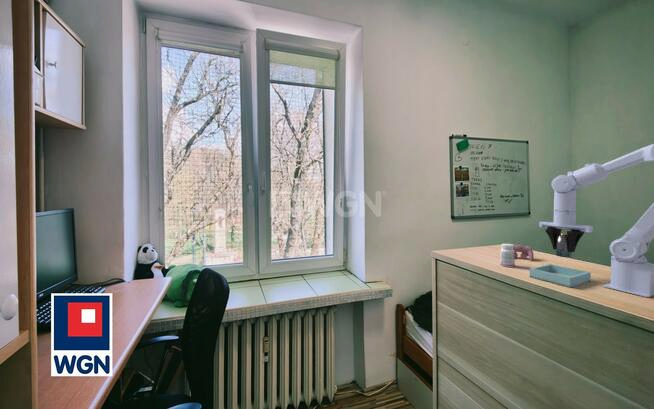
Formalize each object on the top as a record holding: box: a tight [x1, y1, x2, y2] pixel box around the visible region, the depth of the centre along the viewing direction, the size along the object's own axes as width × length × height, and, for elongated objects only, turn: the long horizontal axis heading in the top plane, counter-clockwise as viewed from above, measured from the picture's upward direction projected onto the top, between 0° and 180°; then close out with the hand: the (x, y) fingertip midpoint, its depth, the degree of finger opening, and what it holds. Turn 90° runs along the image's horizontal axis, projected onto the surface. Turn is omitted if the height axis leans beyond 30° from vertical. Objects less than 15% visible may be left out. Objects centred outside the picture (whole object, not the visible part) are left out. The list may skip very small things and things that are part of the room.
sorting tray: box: [529, 263, 592, 289], centre depth 93 cm, size 12×12×3 cm
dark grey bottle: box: [555, 232, 572, 258], centre depth 95 cm, size 4×4×8 cm
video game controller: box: [513, 244, 535, 262], centre depth 119 cm, size 10×5×7 cm, turn 58°
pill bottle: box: [499, 243, 516, 268], centre depth 109 cm, size 5×5×8 cm
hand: (563, 250), depth 95 cm, fingers closed on dark grey bottle, 4 cm apart
